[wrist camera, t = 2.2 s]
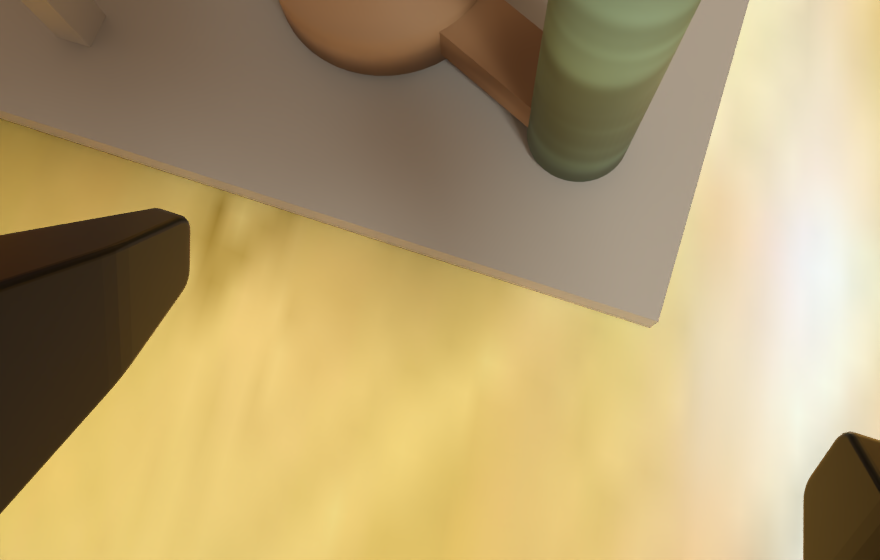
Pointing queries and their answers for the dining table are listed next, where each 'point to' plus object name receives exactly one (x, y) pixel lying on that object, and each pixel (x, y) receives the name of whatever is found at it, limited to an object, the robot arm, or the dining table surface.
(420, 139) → the stand
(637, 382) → the dining table surface
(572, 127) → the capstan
